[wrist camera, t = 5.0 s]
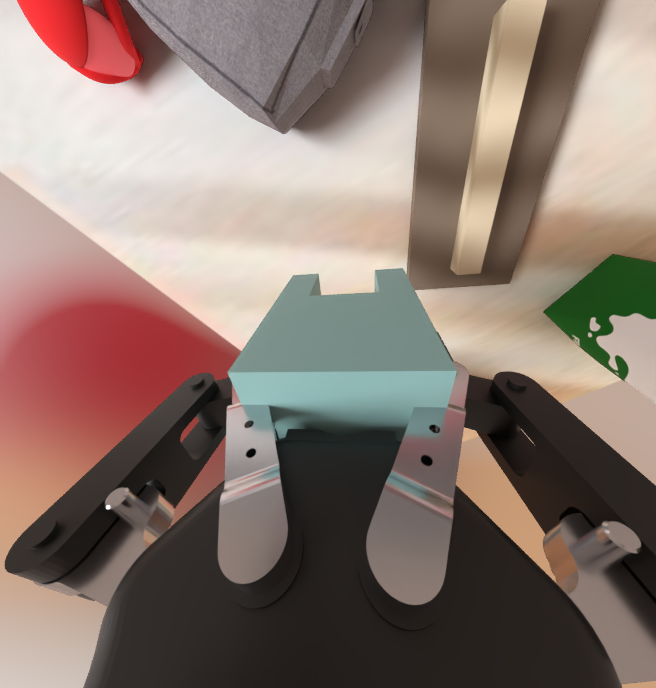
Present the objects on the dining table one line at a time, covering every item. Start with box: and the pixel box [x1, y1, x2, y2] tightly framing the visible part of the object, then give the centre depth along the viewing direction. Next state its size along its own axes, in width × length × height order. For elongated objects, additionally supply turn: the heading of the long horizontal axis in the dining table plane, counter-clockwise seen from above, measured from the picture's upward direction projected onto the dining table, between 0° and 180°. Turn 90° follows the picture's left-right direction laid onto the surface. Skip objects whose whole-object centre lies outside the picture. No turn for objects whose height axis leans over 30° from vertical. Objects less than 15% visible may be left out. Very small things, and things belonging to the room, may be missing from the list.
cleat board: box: [407, 0, 600, 290], centre depth 19 cm, size 20×10×3 cm, turn 6°
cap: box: [17, 0, 143, 84], centre depth 16 cm, size 8×6×6 cm
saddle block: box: [228, 268, 457, 442], centre depth 11 cm, size 6×6×8 cm
